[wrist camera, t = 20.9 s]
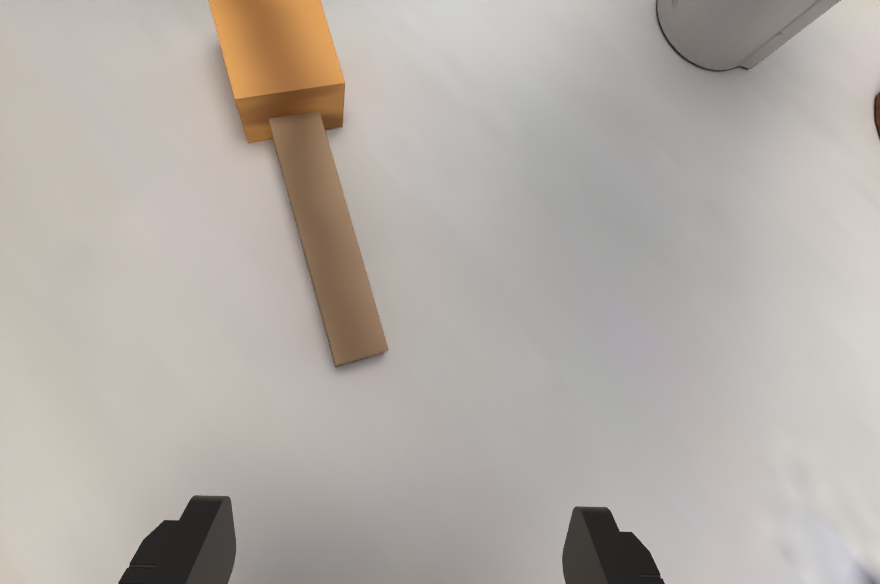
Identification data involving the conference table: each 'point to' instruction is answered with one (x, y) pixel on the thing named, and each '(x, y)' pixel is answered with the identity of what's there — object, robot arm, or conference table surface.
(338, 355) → the mallet
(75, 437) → the conference table surface
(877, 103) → the wooden figurine
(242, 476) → the conference table surface
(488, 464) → the conference table surface
